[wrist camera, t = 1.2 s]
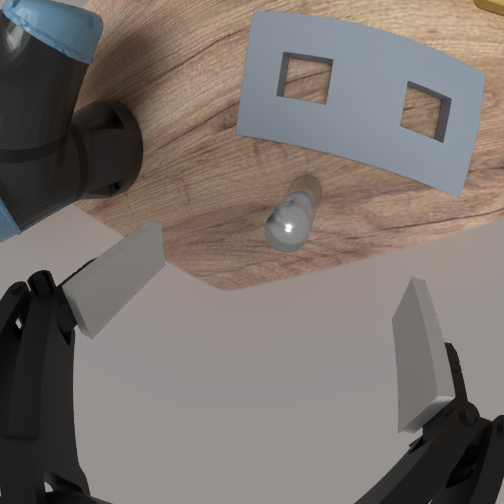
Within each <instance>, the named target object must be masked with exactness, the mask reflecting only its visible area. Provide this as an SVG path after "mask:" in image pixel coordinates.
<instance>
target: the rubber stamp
mask: <svg viewBox="0 0 504 504" xmlns="http://www.w3.org/2000/svg"><path fill="white" fill-rule="evenodd" d="M474 2H475V4H476V6H477V7H479V8H481V9H484V10H488V11H491V12H495V13H498V14H501V15H504V0H474Z"/></svg>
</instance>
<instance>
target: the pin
mask: <svg viewBox="0 0 504 504" xmlns="http://www.w3.org/2000/svg"><path fill="white" fill-rule="evenodd" d="M321 193H322V187H321V184H320V182H319V181H318V180H317V179H316V178H314V177H312V176H307V175H306V176H302V177H300V178H298V179H297V180H296V181H295V183H294V184H293V185H292V187H291V188H290V190H289V191H288V192H287V194H286V195H285V196H284V198H283V199H282V201H281V202H280V203H279V205H278V206H277V207H276V209H275V210H274V211H273V213H272V214H271V216H270V217H269V218H268V220H267V221H266V223H265V227H264V233H265V237H266V239H267V241H268V243H269V244H270V245H271V246H272V247H273V248H275V249H276V250H278V251H281V252H286V253H290V252H295V251H298V250H299V249H301V248H302V247H303V246H304V245H305V243H306V241H307V238H308V235H309V232H310V229H311V225H312V222H313V219H314V216H315V213H316V209H317V206H318V203H319V200H320V196H321Z"/></svg>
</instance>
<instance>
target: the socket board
mask: <svg viewBox="0 0 504 504" xmlns="http://www.w3.org/2000/svg"><path fill="white" fill-rule="evenodd" d="M289 58H296V59H303V60H310V61H316V62H321V63H326V64H331V65H333V66H332V72H331V79H330V85H329V91H328V97H327V102H326V105H323V104H318V103H313V102H308V101H303V100H298V99H292V98H286V97H283V93H284V87H285V81H286V74H287V68H288V61H289ZM484 84H485V74H483V73H482V72H480V71H478V70H476V69H475V68H473V67H471V66H469V65H467V64H465V63H463V62H462V61H460V60H458V59H456V58H454V57H451V56H449V55H447V54H445V53H443V52H441V51H438V50H436V49H434V48H431V47H429V46H427V45H424V44H422V43H419V42H416V41H414V40H411V39H408V38H405V37H403V36H400V35H397V34H393V33H390V32H387V31H384V30H380V29H377V28H373V27H369V26H365V25H361V24H357V23H352V22H348V21H343V20H338V19H332V18H326V17H320V16H313V15H305V14H295V13H284V12H264V11H253V16H252V22H251V28H250V34H249V41H248V47H247V54H246V60H245V67H244V74H243V81H242V88H241V96H240V103H239V111H238V118H237V126H236V134H235V135H241V136H248V137H254V138H260V139H265V140H271V141H276V142H281V143H286V144H291V145H296V146H300V147H305V148H309V149H313V150H317V151H322V152H326V153H330V154H333V155H337V156H341V157H345V158H348V159H352V160H355V161H359V162H362V163H365V164H369V165H372V166H375V167H378V168H382V169H385V170H388V171H391V172H394V173H397V174H399V175H402V176H405V177H408V178H411V179H413V180H416V181H419V182H421V183H424V184H427V185H429V186H432V187H434V188H437V189H439V190H442V191H444V192H446V193H449V194H451V195H453V196H456V197H458V198H459V197H460V194H461V191H462V188H463V185H464V182H465V178H466V175H467V172H468V168H469V164H470V161H471V157H472V153H473V149H474V144H475V140H476V135H477V130H478V125H479V120H480V114H481V108H482V101H483V93H484ZM407 86H409V87H412V88H414V89H417V90H420V91H422V92H425V93H427V94H429V95H432V96H434V97H437V98H439V99H441V100H442V103H441V109H440V114H439V119H438V124H437V129H436V134H435V138H434V139H432V138H429V137H427V136H425V135H422V134H419V133H417V132H414V131H412V130H409V129H406V128H403V127H401V126H400V122H401V117H402V112H403V107H404V101H405V95H406V89H407Z"/></svg>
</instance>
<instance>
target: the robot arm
mask: <svg viewBox="0 0 504 504" xmlns="http://www.w3.org/2000/svg"><path fill="white" fill-rule="evenodd" d="M1 9H2V10H0V242H3V241H5V240H7V239H9V238H11V237H12V236H14V235H16V234H18V235H19V234H21V232H23V231H24V230H26V229H27V228H29V227H31V226H33V225H34V224H36V223H38V222H39V221H41V220H42V219H44V218H46V217H48V216H50V215H51V214H53V213H55V212H57V211H59V210H60V209H62V208H64V207H66V206H68V205H70V204H71V203H73V202H75V201H78V200H82V199H100V198H109V197H113V196H115V195H117V194H119V193H121V192H123V191H125V190H127V189H128V188H129V187H130V186H131V185H132V184H133V182H134V181H135V179H136V177H137V175H138V173H139V170H140V166H141V161H142V139H141V133H140V130H139V127H138V124H137V122H136V119H135V118H134V116H133V114H132V113H131V112H130V110H129V109H128V108H127V107H126V106H124V105H123V104H121V103H120V102H117V101H114V100H105V101H97V102H93V103H91V104H89V105H87V106H85V107H83V108H81V109H80V110H78V111H76V112H75V113H73V112H74V108H75V105H76V101H77V98H78V95H79V92H80V89H81V85H82V83H83V80H84V77H85V74H86V71H87V69H88V66H89V64H91V63H92V62H93V59H94V58H93V55H94V52H95V49H96V47H97V44H98V41H99V39H100V36H101V34H102V31H103V21H102V19H101V17H100V16H99V15H98V14H96V13H93V12H91V11H88V10H85V9H82V8H79V7H75V6H71V5H68V4H64V3H60V2H56V1H51V0H6V2H5V3H4V4H3V6H2V8H1ZM164 265H165V258H164V249H163V239H162V227H161V222H157V221H152V220H149V221H148V222H146V223H145V224H143V225H142V226H141V227H139V228H138V229H136V230H135V231H133V232H132V233H131V234H129V235H128V236H126V237H125V238H124V239H122V240H121V241H119V242H118V243H117V244H115V245H114V246H112V247H111V248H110V249H108V250H107V251H106V252H104V253H103V254H102V255H100V256H99V257H97V258H95V259H92V260H90V261H89V262H87V263H86V264H85V265H83V266H82V268H80V269H78V270H77V272H74V273H73V274H72V275H71V276H69V277H68V278H67V279H66V280H64V281H63V282H62V283H61V284H60V285H58V286H57V287H56V285H55V283H54V280H53V277H52V274H51V273H50V271H47V270H41V271H38V272H36V273H34V274H32V275H31V276H30V277H29V279H28V280H27V281H28V284H29V287H30V289H31V291H29V288H28V286H27V284H26V283H25V282H23V281H20V282H16V283H14V284H13V285H11V286H10V287H9V288H8V290H7V291H6V293H5V294H4V296H3V297H2V299H1V301H0V491H1V497H0V504H111V503H109V502H105V501H103V500H100V499H97V498H94V497H91V496H90V491H89V487H88V483H87V479H86V476H85V474H84V472H83V471H82V469H81V468H80V466H79V462H78V457H77V448H76V439H75V428H74V411H73V362H74V344H75V330H74V327H75V326H76V325H78V327H79V329H80V331H81V333H82V334H84V335H85V336H87V337H89V338H91V339H93V338H94V337H95V336H96V335H97V334H98V333H99V331H101V330H102V328H103V327H104V326H105V325H106V324H107V323H108V322H109V321H110V320H111V319H112V318H113V317H114V316H115V315H116V314H117V313H118V312H119V311H120V310H121V308H122V307H123V306H124V305H125V304H126V303H127V302H128V301H129V300H130V299H131V298H132V297H133V296H134V295H135V294H136V293H137V292H138V291H139V290H140V289H141V288H142V287H143V286H144V285H145V284H146V283H147V282H148V281H149V280H150V279H151V278H152V277H153V276H154V275H155V274H156V273H157V272H158V271H159V270H160V269H161V268H162V267H163V266H164ZM17 319H19V321H20V323H21V325H22V326H21V328H20V329H19V328H18V326H17V325H16V323H15V322H16V320H17ZM392 324H393V332H394V342H395V352H396V365H397V382H398V433H415V432H417V431H418V430H419V429H420V428H422V427H423V435H422V436H420V437H419V438H418V439H417V440H415V441H414V442H413V443H411V444H410V445H409V446H410V447H411V446H412V447H411V448H410V449H409V450H408V451H407V453H406V454H405V455H404V456H403V457H402V458H401V459H400V460H399V462H398V463H397V464H396V465H395V466H394V467H393V468H392V469H391V470H390V471H389V472H388V473H387V474H386V475H385V476H384V477H383V478H382V479H381V480H380V481H379V482H378V483H377V484H376V485H375V486H374V487H373V488H371V489H370V490H369V491H368V492H367V493H366V494H365V495H364V496H363V497H362V498H360V499H359V500H358V501H357V502H356V503H355V504H428V503H429V502H430V501H431V500H432V501H431V503H430V504H495V502H496V499H497V497H498V494H499V491H500V488H501V484H502V481H503V478H504V415H500V416H498V417H497V418H495V419H494V420H493V421H489V420H487V419H484V418H481V417H480V415H479V412H478V410H477V408H476V407H475V406H474V404H472V403H470V402H468V400H467V394H466V389H465V384H464V379H463V375H462V373H461V371H462V370H461V366H460V365H459V363H460V362H459V358H458V355H457V352H456V350H455V349H454V347H453V345H452V344H451V343H445V342H444V340H443V337H442V332H441V329H440V326H439V322H438V319H437V315H436V312H435V309H434V306H433V303H432V300H431V297H430V294H429V291H428V288H427V285H426V282H425V280H422V279H417V278H413V277H411V280H410V282H409V284H408V287H407V289H406V291H405V293H404V295H403V298H402V300H401V302H400V304H399V306H398V308H397V310H396V312H395V314H394V316H393V318H392ZM44 482H46V483H48V484H49V485H50V486H51V487H52V489H53V491H52V492H45V485H44ZM432 498H433V499H432Z"/></svg>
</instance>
